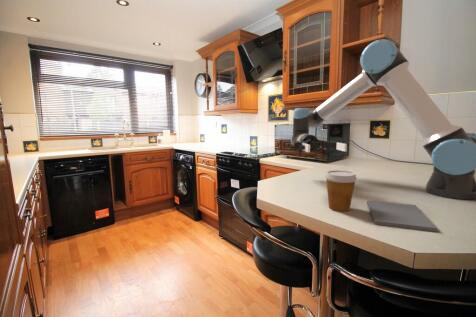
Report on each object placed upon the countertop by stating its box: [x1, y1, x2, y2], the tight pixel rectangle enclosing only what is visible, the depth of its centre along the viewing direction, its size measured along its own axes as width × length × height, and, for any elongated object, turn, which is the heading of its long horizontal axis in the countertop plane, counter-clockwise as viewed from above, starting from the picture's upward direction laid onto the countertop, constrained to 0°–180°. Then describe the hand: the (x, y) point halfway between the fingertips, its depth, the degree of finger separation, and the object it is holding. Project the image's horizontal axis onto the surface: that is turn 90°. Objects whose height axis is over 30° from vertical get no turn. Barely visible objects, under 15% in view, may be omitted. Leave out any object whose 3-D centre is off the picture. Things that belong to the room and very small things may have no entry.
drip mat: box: [366, 200, 438, 233], centre depth 71 cm, size 14×18×1 cm
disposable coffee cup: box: [324, 169, 358, 213], centre depth 77 cm, size 10×10×12 cm
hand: (327, 148), depth 85 cm, fingers open, 13 cm apart
